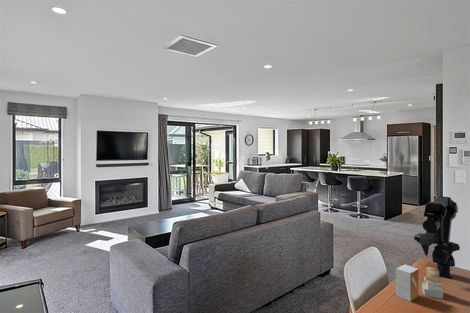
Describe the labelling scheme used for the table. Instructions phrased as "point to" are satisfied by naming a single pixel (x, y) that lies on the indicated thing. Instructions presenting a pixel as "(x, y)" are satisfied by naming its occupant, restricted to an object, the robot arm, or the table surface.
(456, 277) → the table surface
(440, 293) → the sage base block
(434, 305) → the table surface
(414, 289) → the small box
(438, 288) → the cream top block
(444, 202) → the robot arm
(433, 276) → the maple cylinder
